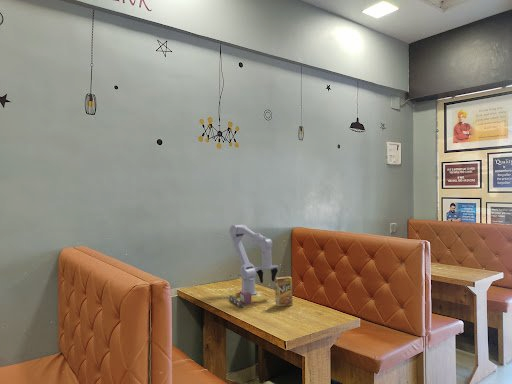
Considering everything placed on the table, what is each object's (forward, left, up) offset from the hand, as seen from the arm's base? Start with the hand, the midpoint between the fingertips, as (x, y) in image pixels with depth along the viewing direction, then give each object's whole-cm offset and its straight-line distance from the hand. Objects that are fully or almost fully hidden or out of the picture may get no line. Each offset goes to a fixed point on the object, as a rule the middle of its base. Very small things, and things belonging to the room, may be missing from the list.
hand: (267, 281), depth 215 cm
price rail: (+2, -21, -9) cm, 23 cm away
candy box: (+17, +2, -10) cm, 20 cm away
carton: (+3, -15, -10) cm, 18 cm away
